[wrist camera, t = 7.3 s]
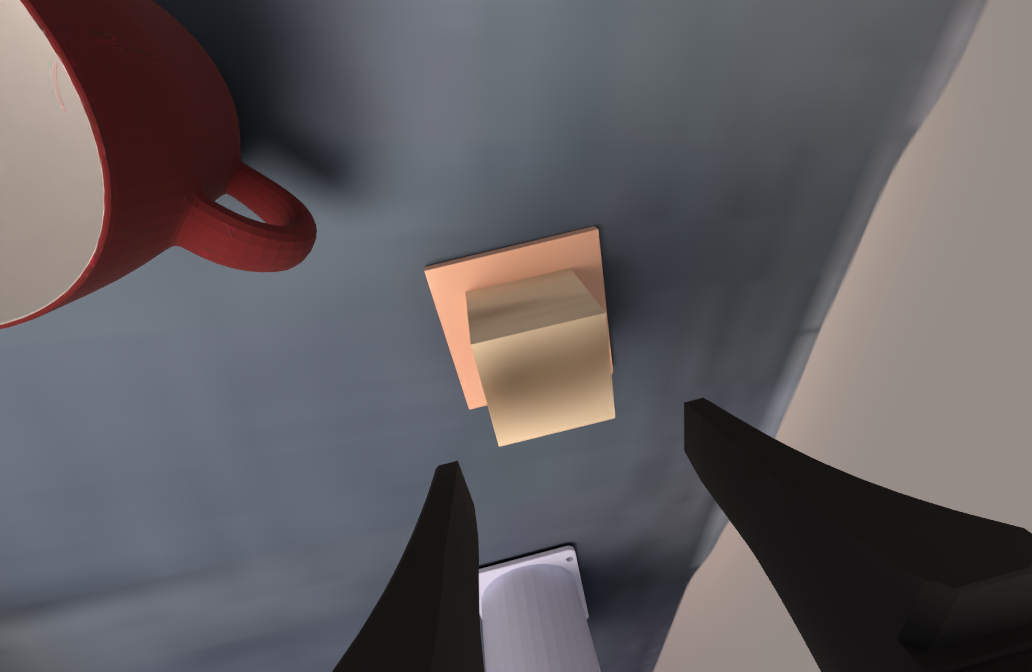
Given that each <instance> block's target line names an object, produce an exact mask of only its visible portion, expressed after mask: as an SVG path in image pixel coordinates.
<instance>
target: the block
mask: <svg viewBox="0 0 1032 672" xmlns="http://www.w3.org/2000/svg"><path fill="white" fill-rule="evenodd" d="M465 295H466V304H467V314H468V324H469V334H470V343H471V348H472V351H473V355H474V359H475V362H476V366H477V369H478V373H479V377H480V380H481V384H482V387H483V391H484V394H485V398H486V402H487V405H488V409H489V412H490V416H491V420H492V423H493V427H494V430H495V434H496V437H497V441H498V445H499V447H500V446H504V445H508V444H512V443H516V442H520V441H524V440H528V439H532V438H536V437H540V436H544V435H549V434H553V433H557V432H561V431H565V430H569V429H573V428H577V427H581V426H585V425H589V424H593V423H597V422H601V421H605V420H609V419H613V418H615V409H614V398H613V387H612V376H611V365H610V354H609V343H608V332H607V321H606V312H605V311H604V310H603V309H602V307H601V306H600V305H599V304H598V302H597V301H596V300H595V299H594V297H593V296H592V295H591V294H590V292H589V291H588V290H587V289H586V287H585V286H584V285H583V284H582V282H581V281H580V280H579V279H578V277H577V276H576V275H575V273H574V272H573V271H572V270H571V268H569V269H564V270H560V271H556V272H551V273H547V274H543V275H538V276H534V277H530V278H525V279H521V280H517V281H512V282H508V283H504V284H499V285H495V286H491V287H486V288H482V289H478V290H473V291H469V292H465Z"/></svg>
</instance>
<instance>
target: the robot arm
mask: <svg viewBox="0 0 1032 672" xmlns="http://www.w3.org/2000/svg"><path fill="white" fill-rule="evenodd" d="M684 451H685V453H686V454H687V456H688V458H689V460H690V462H691V464H692V466H693V467H694V469H695V471H696V473H697V474H698V476H699V478H700V480H701V481H702V483H703V484H704V485H705V487H706V488H707V490H708V491H709V492H710V494H711V495H712V497H713V498H714V499H715V501H716V502H717V503H718V505H719V506H720V508H721V509H722V510H723V512H724V513H725V514H726V516H727V517H728V519H729V520H730V521H731V523H732V524H733V525H734V527H735V528H736V529H737V531H738V532H739V534H740V535H741V536H742V538H743V539H744V540H745V542H746V543H747V545H748V546H749V548H750V549H751V551H752V552H753V553H754V555H755V556H756V558H757V560H758V561H759V563H760V564H761V566H762V568H763V570H764V571H765V573H766V575H767V576H768V578H769V580H770V581H771V583H772V585H773V586H774V588H775V590H776V591H777V593H778V595H779V596H780V598H781V600H782V602H783V603H784V605H785V607H786V609H787V610H788V612H789V614H790V616H791V617H792V619H793V621H794V623H795V624H796V626H797V628H798V630H799V632H800V633H801V635H802V637H803V639H804V641H805V642H806V645H807V646H808V648H809V650H810V652H811V654H812V655H813V657H814V659H815V661H816V663H817V665H818V667H819V668H820V670H821V672H1032V533H1030V532H1028V531H1027V530H1026V529H1024V528H1021V527H1017V526H1013V525H1009V524H1005V523H1001V522H998V521H994V520H990V519H986V518H982V517H978V516H974V515H970V514H967V513H963V512H959V511H956V510H952V509H949V508H945V507H942V506H939V505H935V504H932V503H929V502H926V501H922V500H919V499H916V498H913V497H910V496H907V495H904V494H901V493H898V492H896V491H892V490H890V489H887V488H884V487H882V486H879V485H876V484H873V483H871V482H868V481H865V480H863V479H860V478H858V477H855V476H853V475H850V474H848V473H845V472H843V471H841V470H838V469H836V468H834V467H831V466H829V465H827V464H824V463H822V462H820V461H818V460H816V459H813V458H811V457H809V456H807V455H805V454H803V453H801V452H799V451H797V450H795V449H793V448H791V447H789V446H787V445H785V444H783V443H781V442H779V441H778V440H776V439H774V438H772V437H770V436H768V435H766V434H765V433H763V432H761V431H759V430H757V429H756V428H754V427H752V426H750V425H749V424H747V423H745V422H743V421H742V420H740V419H738V418H737V417H735V416H733V415H732V414H730V413H728V412H727V411H725V410H723V409H721V408H720V407H718V406H716V405H715V404H713V403H711V402H710V401H708V400H706V399H704V398H700V399H696V400H693V401H689V402H685V403H684ZM479 614H480V616H481V618H482V622H483V636H484V650H485V665H486V672H601V671H600V667H599V663H598V660H597V656H596V652H595V649H594V645H593V642H592V638H591V634H590V631H589V627H588V623H587V619H588V617H589V615H588V610H587V606H586V601H585V596H584V591H583V587H582V582H581V577H580V572H579V568H578V563H577V558H576V553H575V550H574V547H572V546H564V547H561V548H557V549H553V550H549V551H546V552H542V553H538V554H534V555H530V556H527V557H523V558H519V559H515V560H512V561H508V562H504V563H500V564H497V565H493V566H489V567H485V568H481V569H479V547H478V532H477V523H476V516H475V508H474V504H473V501H472V498H471V495H470V493H469V490H468V487H467V485H466V482H465V479H464V476H463V474H462V471H461V468H460V466H459V463H458V461H455V462H451V463H447V464H443V465H440V466H438V467H437V468H436V470H435V474H434V477H433V480H432V483H431V486H430V489H429V492H428V495H427V498H426V501H425V504H424V506H423V509H422V511H421V514H420V516H419V519H418V521H417V524H416V526H415V529H414V531H413V534H412V536H411V538H410V540H409V542H408V545H407V547H406V549H405V551H404V553H403V556H402V558H401V560H400V562H399V564H398V566H397V568H396V570H395V572H394V574H393V576H392V578H391V580H390V581H389V583H388V585H387V587H386V589H385V590H384V592H383V594H382V596H381V598H380V599H379V601H378V603H377V604H376V606H375V608H374V609H373V611H372V613H371V614H370V616H369V618H368V619H367V621H366V623H365V624H364V626H363V627H362V629H361V630H360V632H359V634H358V635H357V637H356V638H355V640H354V641H353V642H352V644H351V645H350V647H349V648H348V650H347V651H346V652H345V654H344V655H343V657H342V658H341V660H340V661H339V663H338V664H337V665H336V667H335V668H334V670H333V671H332V672H484V665H483V655H482V645H481V635H480V616H479Z"/></svg>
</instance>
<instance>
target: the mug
mask: <svg viewBox="0 0 1032 672" xmlns="http://www.w3.org/2000/svg"><path fill="white" fill-rule="evenodd" d="M225 193H227V194H229V195H231V196H232V197H234V198H236V199H237V200H238V201H240V202H241V203H243V204H244V205H245V206H247V207H248V208H249V209H250V210H252V211H253V212H254V213H255V214H257V215H258V216H259V217H260V218H261V219H262V220H264V221H265V222H266V223H262V222H259V221H256V220H252V219H249V218H247V217H244V216H242V215H240V214H237V213H235V212H233V211H231V210H229V209H227V208H225V207H223V206H222V205H220V204H218V203H216V202H214V201H215V200H217V199H218V198H219V197H220V196H222V195H223V194H225ZM316 232H317V229H316V224H315V221H314V219H313V217H312V215H311V213H310V212H309V210H308V209H307V208H306V207H305V206H304V204H303V203H302V202H301V201H299V200H298V199H297V198H296V197H295V196H294V195H292V194H291V193H290V192H288V191H287V190H286V189H284V188H283V187H281V186H280V185H278V184H277V183H275V182H273V181H272V180H270V179H269V178H267V177H266V176H264V175H262V174H261V173H259V172H257V171H256V170H254V169H252V168H251V167H249V166H247V165H246V164H244V163H243V162H242V160H241V145H240V129H239V122H238V116H237V112H236V108H235V104H234V102H233V99H232V96H231V93H230V91H229V89H228V87H227V84H226V82H225V81H224V79H223V77H222V75H221V73H220V71H219V70H218V68H217V67H216V65H215V63H214V62H213V60H212V59H211V58H210V56H209V55H208V54H207V52H206V51H205V50H204V48H203V47H202V46H201V45H200V44H199V42H198V41H197V40H196V39H195V38H194V37H193V36H192V35H191V33H190V32H189V31H188V30H187V29H186V28H185V27H184V26H183V25H182V24H181V23H180V22H178V21H177V20H176V19H175V18H174V17H173V16H172V15H170V14H169V13H168V12H167V11H166V10H164V9H163V8H162V7H161V6H159V5H158V4H157V3H156V2H154V1H153V0H0V329H2V328H7V327H11V326H14V325H17V324H20V323H23V322H26V321H29V320H33V319H35V318H38V317H40V316H42V315H44V314H46V313H48V312H51V311H53V310H55V309H57V308H59V307H62V306H64V305H66V304H68V303H70V302H73V301H75V300H77V299H79V298H81V297H84V296H86V295H88V294H90V293H92V292H94V291H96V290H98V289H100V288H102V287H104V286H106V285H108V284H110V283H112V282H114V281H116V280H118V279H120V278H122V277H123V276H125V275H127V274H129V273H130V272H132V271H134V270H135V269H137V268H139V267H140V266H142V265H144V264H145V263H147V262H148V261H150V260H151V259H153V258H154V257H156V256H157V255H159V254H160V253H162V252H163V251H165V250H166V249H168V248H170V247H172V246H180V247H182V248H184V249H186V250H188V251H190V252H192V253H194V254H196V255H198V256H200V257H203V258H205V259H207V260H210V261H212V262H215V263H217V264H220V265H224V266H227V267H230V268H234V269H239V270H244V271H253V272H278V271H284V270H288V269H290V268H292V267H295V266H296V265H298V264H299V263H301V262H302V261H303V260H304V259H305V258H306V257H307V255H308V254H309V253H310V252H311V250H312V247H313V245H314V243H315V239H316Z"/></svg>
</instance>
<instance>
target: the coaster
mask: <svg viewBox="0 0 1032 672" xmlns="http://www.w3.org/2000/svg"><path fill="white" fill-rule="evenodd" d="M569 268H571V270H572V271H573V272H574V273H575V275H576V276H577V277H578V279H579V280H580V281H581V282H582V284H583V285H584V286H585V287H586V289H587V290H588V291H589V292H590V294H591V295H592V296H593V297H594V299H595V300H596V301H597V302H598V304H599V305H600V306H601V307H602V309H603V310H604V311H605V312H606V321H607V332H608V343H609V354H610V365H611V374H612V373H613V368H612V358H611V348H610V338H609V328H608V319H607V309H606V299H605V289H604V279H603V270H602V260H601V250H600V240H599V230H598V228H596V227H595V226H592V227H588V228H584V229H580V230H576V231H571V232H567V233H563V234H559V235H555V236H551V237H546V238H542V239H538V240H534V241H530V242H526V243H521V244H517V245H513V246H509V247H505V248H501V249H496V250H492V251H488V252H484V253H480V254H476V255H472V256H467V257H463V258H459V259H455V260H451V261H447V262H442V263H438V264H434V265H430V266H426V267H425V270H424V271H425V275H426V278H427V281H428V284H429V287H430V290H431V293H432V296H433V299H434V302H435V305H436V308H437V312H438V315H439V318H440V321H441V324H442V327H443V330H444V333H445V336H446V339H447V342H448V345H449V349H450V352H451V355H452V358H453V361H454V364H455V367H456V370H457V373H458V376H459V379H460V382H461V386H462V389H463V392H464V395H465V398H466V401H467V404H468V407H469V410H470V409H473V408H477V407H481V406H485V405H487V402H486V398H485V394H484V391H483V387H482V384H481V380H480V377H479V373H478V369H477V366H476V362H475V359H474V355H473V351H472V348H471V343H470V334H469V324H468V314H467V304H466V295H465V292H469V291H473V290H478V289H482V288H486V287H491V286H495V285H499V284H504V283H508V282H512V281H517V280H521V279H525V278H530V277H534V276H538V275H543V274H547V273H551V272H556V271H560V270H564V269H569Z"/></svg>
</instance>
